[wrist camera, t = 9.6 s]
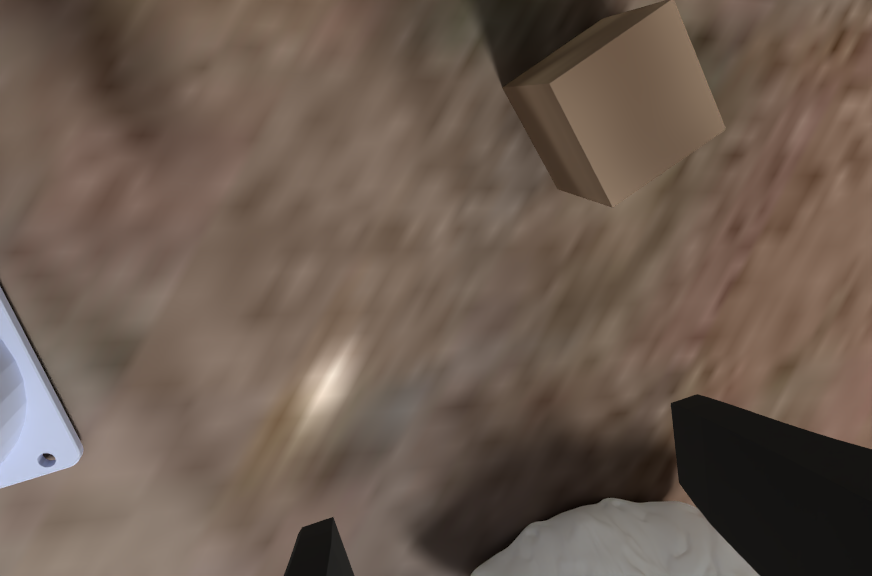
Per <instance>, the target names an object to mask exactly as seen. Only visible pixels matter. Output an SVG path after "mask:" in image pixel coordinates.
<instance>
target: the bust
mask: <svg viewBox="0 0 872 576" xmlns="http://www.w3.org/2000/svg"><path fill="white" fill-rule="evenodd" d="M470 576H760V575H759V574H758V573H757V572H756V571H755V570H754V569H753V568H752V567H751V566H750V565H749V564H748V563H747V562H746V561H745V560H744V559H743V558H742V557H741V556H740V555H739V554H738V553H737V552H736V551H735V550H734V549H733V547H732V546H731V545H730V544H729V543H728V542H727V541H726V540H725V539H724V538H723V537H722V536H721V535H720V534H719V533H718V532H717V531H716V530H715V529H714V528H713V526H712V525H711V524H710V523H709V522H708V521H707V519H706V518H705V517H704V515H703V514H702V513H701V512H700V510H699V509H698V508H696V507H694V506H692V505H689V504H687V503H683V502H679V501H663V502H645V503H636V502H631V501H627V500H623V499H617V498H606V499H603V500H601V501H600V502H599V503H597V504H592V505H585V506H581V507H578V508H575V509H572V510H569V511H566V512H563V513H560V514H558V515H556V516H554V517H552V518H550V519H549V520H546V521H537V522H534V523H531V524H529V525H528V526H527V527H526V528H525V529H524V530H523V531H522V532H521V533H520V534H519V536H518V537H517V538H516V539H515V540H514V541H513V542H512V544H510V545H509V546H508V547H507V548H506V549H504V550H502V551H501V552H499V553H497V554H495V555H494V556H493V557H491V558H490V559H489V560H487V561H486V562H484V563H483V564H481V565H480V566H478V567H477V568H476V569H475V570H474V571H473V572H472V574H471V575H470Z"/></svg>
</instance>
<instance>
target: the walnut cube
mask: <svg viewBox="0 0 872 576" xmlns="http://www.w3.org/2000/svg"><path fill="white" fill-rule="evenodd" d="M502 88H503V90H504V92H505V93H506V95H507V97H508V99H509V101H510V103H511V104H512V106H513V108H514V110H515V112H516V114H517V115H518V117H519V119H520V121H521V123H522V125H523V126H524V128H525V130H526V132H527V134H528V136H529V137H530V139H531V141H532V143H533V145H534V147H535V148H536V150H537V152H538V154H539V156H540V158H541V159H542V161H543V163H544V165H545V167H546V169H547V170H548V172H549V174H550V176H551V178H552V180H553V181H554V183H555V185H556V187H557V189H559V190H562V191H565V192H568V193H571V194H574V195H577V196H580V197H583V198H586V199H589V200H592V201H595V202H598V203H601V204H604V205H607V206H610V207H614V206H616V205H617V204H619V203H620V202H622V201H623V200H624V199H626V198H627V197H629V196H630V195H632V194H633V193H635V192H636V191H637V190H639V189H640V188H642V187H643V186H645V185H646V184H648V183H649V182H650V181H652V180H653V179H655V178H656V177H658V176H659V175H661V174H662V173H663V172H665V171H666V170H668V169H669V168H671V167H672V166H674V165H675V164H676V163H678V162H679V161H681V160H682V159H684V158H685V157H687V156H688V155H690V154H691V153H692V152H694V151H695V150H697V149H698V148H700V147H701V146H703V145H704V144H705V143H707V142H708V141H710V140H711V139H713V138H714V137H716V136H717V135H718V134H720V133H721V132H723V131H724V130H726V128H725V125H724V123H723V120H722V118H721V115H720V113H719V110H718V108H717V105H716V103H715V100H714V98H713V95H712V93H711V90H710V88H709V85H708V83H707V81H706V78H705V76H704V73H703V71H702V68H701V66H700V63H699V61H698V58H697V56H696V53H695V51H694V48H693V46H692V43H691V41H690V38H689V36H688V33H687V31H686V28H685V26H684V23H683V21H682V18H681V16H680V13H679V11H678V8H677V6H676V4H675V1H674V0H666V1H662V2H659V3H655V4H652V5H648V6H645V7H641V8H638V9H634V10H631V11H627V12H623V13H620V14H616V15H613V16H609V17H606V18H603V19H601V20H600V21H598V22H597V23H595V24H594V25H592V26H591V27H590V28H588V29H587V30H585V31H584V32H582V33H581V34H579V35H578V36H577V37H575V38H574V39H572V40H571V41H569V42H568V43H566V44H565V45H563V46H562V47H561V48H559V49H558V50H556V51H555V52H553V53H552V54H550V55H549V56H547V57H546V58H545V59H543V60H542V61H540V62H539V63H537V64H536V65H534V66H533V67H531V68H530V69H529V70H527V71H526V72H524V73H523V74H521V75H520V76H518V77H517V78H515V79H514V80H513V81H511V82H510V83H508V84H507V85H505V86H504V87H502Z"/></svg>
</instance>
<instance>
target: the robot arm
mask: <svg viewBox="0 0 872 576" xmlns="http://www.w3.org/2000/svg"><path fill="white" fill-rule="evenodd" d="M671 410H672V420H673V429H674V439H675V449H676V458H677V468H678V477H679V483H680V485H681V486H682V487H683V489H684V490H685V492H686V493H687V494H688V496H689V497H690V498H691V500H692V501H693V502H694V504H695V505H696V506H697V508H698V509H699V510H700V512H701V513H702V514H703V515H704V517H705V518H706V519H707V521H708V522H709V523H710V524H711V525H712V526H713V528H714V529H715V530H716V531H717V532H718V533H719V534H720V535H721V536H722V537H723V538H724V539H725V540H726V541H727V542H728V543H729V544H730V545H731V546H732V547H733V549H734V550H735V551H736V552H737V553H738V554H739V555H740V556H741V557H742V558H743V559H744V560H745V561H746V562H747V563H748V564H749V565H750V566H751V567H752V568H753V569H754V570H755V571H756V572H757V573H758V574H759V575H760V576H872V449H868V448H865V447H861V446H858V445H854V444H851V443H847V442H844V441H840V440H837V439H833V438H830V437H827V436H823V435H820V434H817V433H814V432H810V431H807V430H804V429H801V428H798V427H795V426H792V425H789V424H786V423H783V422H780V421H777V420H774V419H771V418H768V417H765V416H762V415H759V414H756V413H753V412H751V411H748V410H745V409H742V408H739V407H736V406H733V405H730V404H727V403H724V402H721V401H718V400H715V399H712V398H708V397H705V396H701V395H698V394H697V395H694V396H691V397H688V398H685V399H682V400H679V401H676V402H673V403H671ZM43 453H49V454H52V455H53V456H54V457H55V459H56V460H48V459H46V458H45V457H44V456H43ZM82 454H83V446H82V443H81V441H80V439H79V437H78V436H77V434H76V432H75V430H74V428H73V426H72V424H71V422H70V420H69V418H68V416H67V414H66V412H65V410H64V409H63V407H62V405H61V403H60V401H59V399H58V397H57V395H56V393H55V391H54V389H53V387H52V385H51V383H50V381H49V380H48V378H47V376H46V374H45V372H44V370H43V368H42V366H41V364H40V362H39V360H38V358H37V356H36V354H35V353H34V351H33V349H32V347H31V345H30V343H29V341H28V339H27V337H26V335H25V333H24V331H23V329H22V327H21V325H20V324H19V322H18V320H17V318H16V316H15V314H14V312H13V310H12V308H11V306H10V304H9V302H8V300H7V298H6V297H5V295H4V293H3V291H2V289H1V287H0V488H3V487H7V486H10V485H13V484H16V483H20V482H23V481H26V480H29V479H33V478H36V477H39V476H42V475H46V474H49V473H52V472H55V471H59V470H62V469H65V468H68V467H71V466H73V465H75V464H76V463H77V462H78V461H79V459H80V458H81V456H82ZM284 576H354V573H353V571H352V568H351V565H350V562H349V560H348V557H347V554H346V551H345V548H344V546H343V543H342V540H341V537H340V535H339V532H338V529H337V526H336V524H335V521H334V518H333V517H332V518H329V519H326V520H323V521H320V522H317V523H314V524H311V525H308V526H305V527H302V529H301V530H300V532H299V534H298V536H297V539H296V543H295V546H294V549H293V552H292V554H291V557H290V560H289V563H288V566H287V569H286V571H285V574H284Z"/></svg>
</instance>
